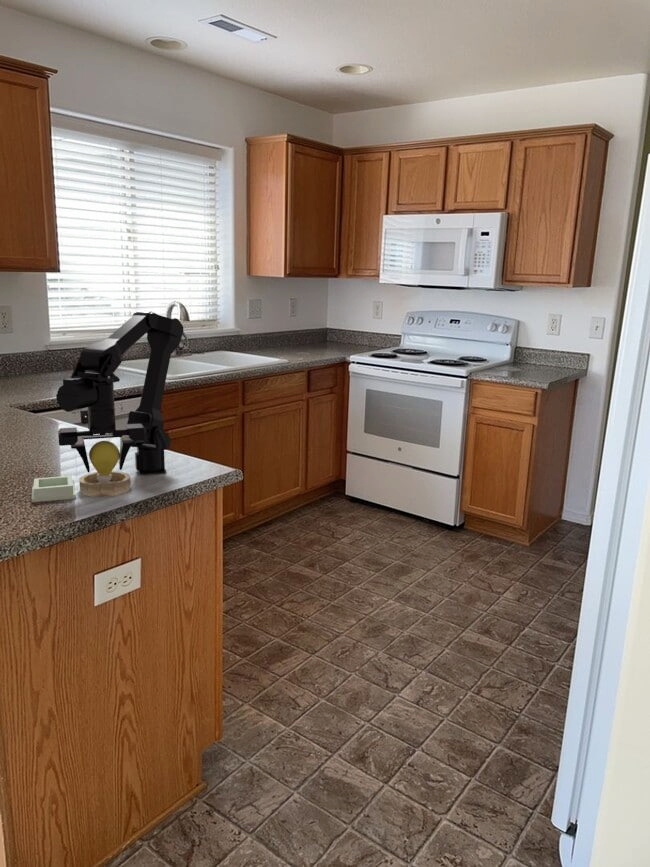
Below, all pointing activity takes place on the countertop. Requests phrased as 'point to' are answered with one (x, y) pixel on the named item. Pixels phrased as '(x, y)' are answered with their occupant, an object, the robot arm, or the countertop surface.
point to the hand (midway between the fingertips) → (104, 470)
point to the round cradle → (104, 485)
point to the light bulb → (104, 459)
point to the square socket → (53, 489)
